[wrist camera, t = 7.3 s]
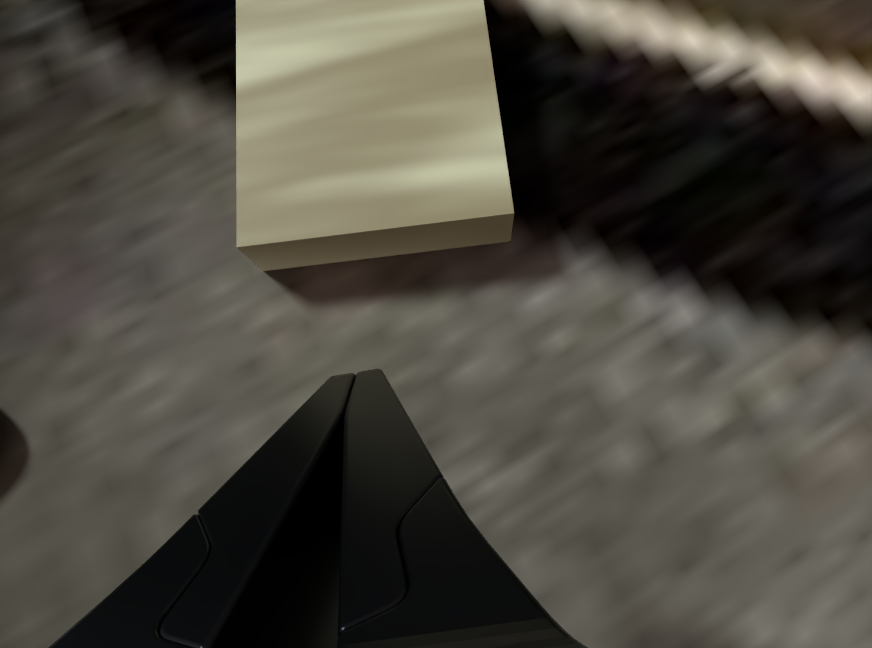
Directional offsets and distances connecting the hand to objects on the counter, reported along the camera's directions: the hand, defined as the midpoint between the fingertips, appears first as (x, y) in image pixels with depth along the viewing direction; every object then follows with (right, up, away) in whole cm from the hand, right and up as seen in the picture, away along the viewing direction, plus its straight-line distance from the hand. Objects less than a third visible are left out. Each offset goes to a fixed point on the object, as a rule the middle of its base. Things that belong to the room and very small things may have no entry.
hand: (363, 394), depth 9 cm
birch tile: (-1, +4, +8) cm, 9 cm away
